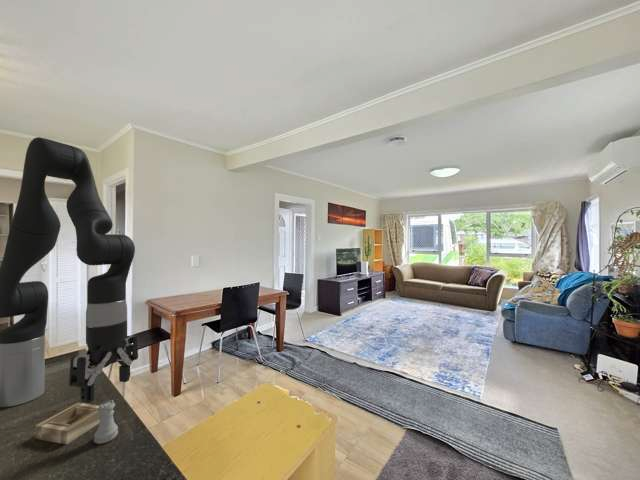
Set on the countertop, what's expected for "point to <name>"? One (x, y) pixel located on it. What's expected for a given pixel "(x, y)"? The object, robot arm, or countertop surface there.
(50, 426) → the socket block
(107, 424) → the rook chess piece
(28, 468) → the countertop surface
